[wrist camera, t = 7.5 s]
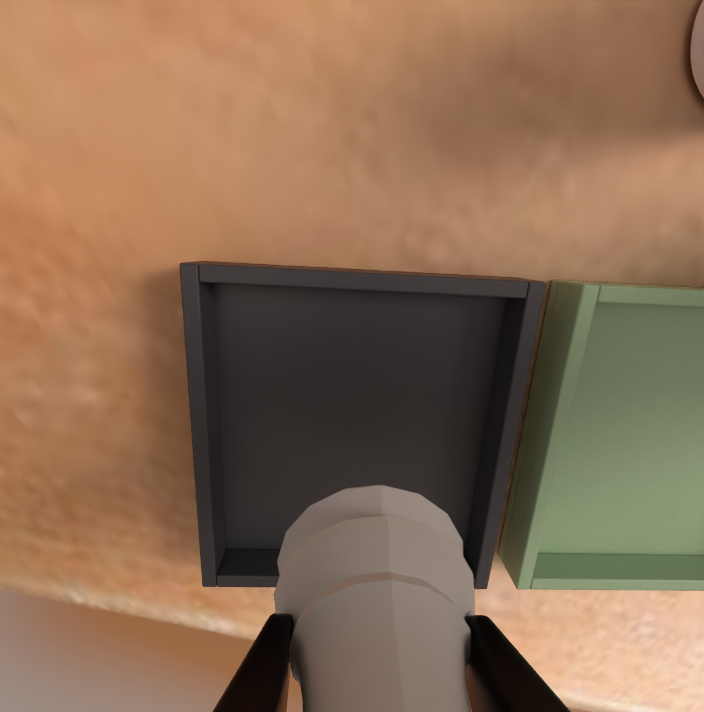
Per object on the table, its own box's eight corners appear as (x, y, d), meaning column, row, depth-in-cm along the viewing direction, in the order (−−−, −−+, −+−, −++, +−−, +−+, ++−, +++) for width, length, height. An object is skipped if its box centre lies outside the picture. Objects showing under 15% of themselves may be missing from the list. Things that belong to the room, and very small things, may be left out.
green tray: (840, 294, 15) (914, 301, 13) (733, 557, 19) (778, 592, 17) (551, 279, 15) (584, 283, 13) (497, 554, 18) (516, 590, 16)
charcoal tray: (519, 277, 14) (547, 282, 13) (471, 553, 18) (487, 589, 16) (200, 261, 14) (178, 262, 12) (216, 550, 17) (201, 587, 16)
